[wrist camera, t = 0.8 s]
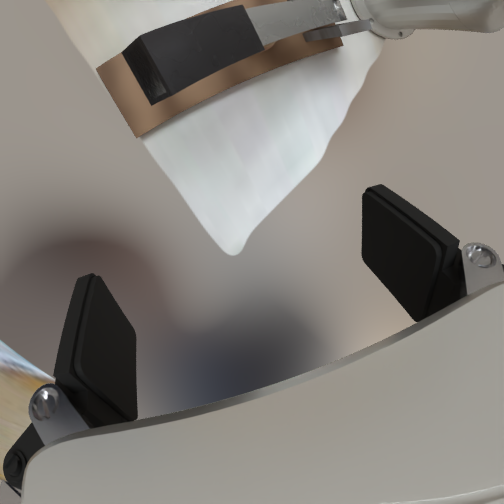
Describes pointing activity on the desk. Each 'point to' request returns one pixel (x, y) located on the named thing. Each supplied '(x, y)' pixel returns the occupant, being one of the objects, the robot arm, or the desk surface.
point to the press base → (274, 56)
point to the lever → (218, 42)
